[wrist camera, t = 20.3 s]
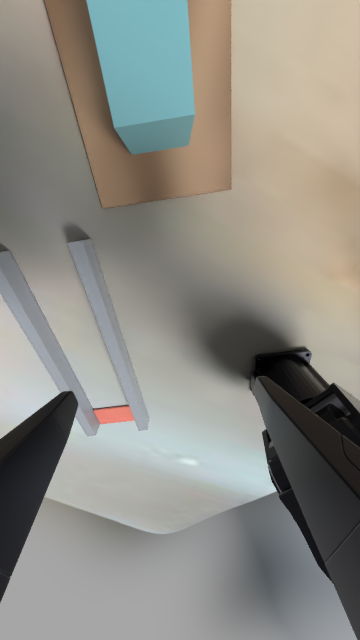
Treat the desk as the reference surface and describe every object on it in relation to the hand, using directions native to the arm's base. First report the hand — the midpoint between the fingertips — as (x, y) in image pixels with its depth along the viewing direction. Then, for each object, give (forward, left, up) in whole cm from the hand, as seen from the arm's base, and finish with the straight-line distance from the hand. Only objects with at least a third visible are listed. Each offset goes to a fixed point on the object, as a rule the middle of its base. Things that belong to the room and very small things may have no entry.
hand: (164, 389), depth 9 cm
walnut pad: (-1, -14, -11) cm, 18 cm away
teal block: (-1, -15, -11) cm, 18 cm away
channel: (+10, +5, -11) cm, 16 cm away
